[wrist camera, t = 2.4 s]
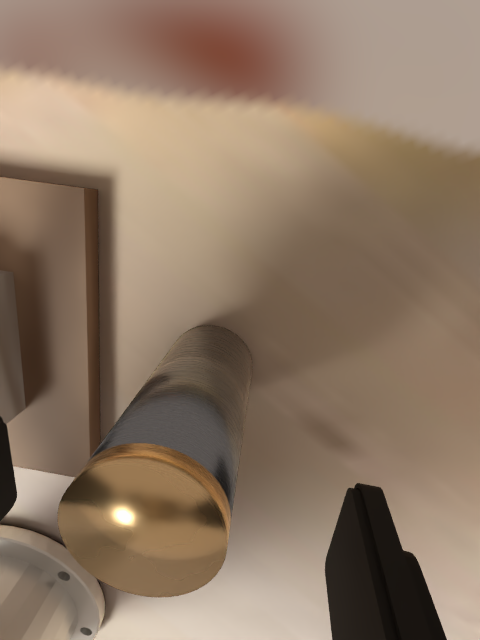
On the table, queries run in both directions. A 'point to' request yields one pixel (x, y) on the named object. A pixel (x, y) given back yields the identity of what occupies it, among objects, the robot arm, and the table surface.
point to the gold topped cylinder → (165, 473)
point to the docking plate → (49, 324)
